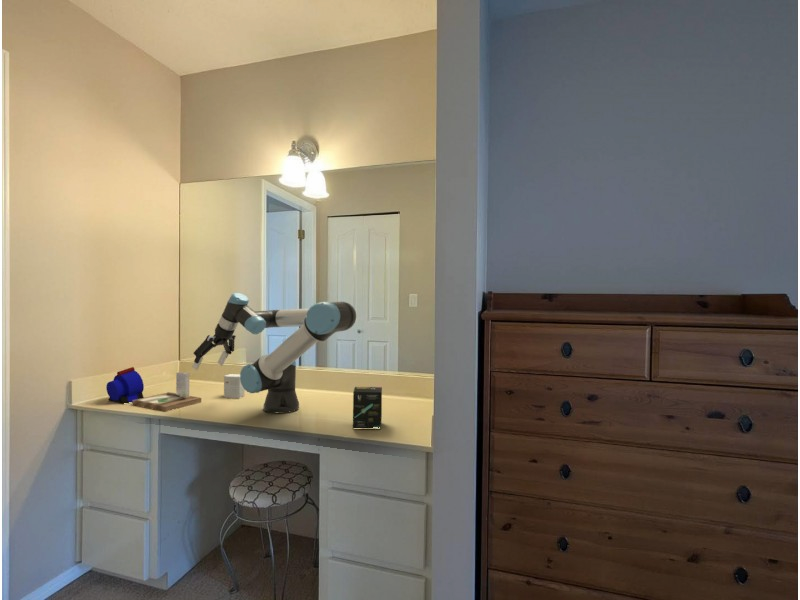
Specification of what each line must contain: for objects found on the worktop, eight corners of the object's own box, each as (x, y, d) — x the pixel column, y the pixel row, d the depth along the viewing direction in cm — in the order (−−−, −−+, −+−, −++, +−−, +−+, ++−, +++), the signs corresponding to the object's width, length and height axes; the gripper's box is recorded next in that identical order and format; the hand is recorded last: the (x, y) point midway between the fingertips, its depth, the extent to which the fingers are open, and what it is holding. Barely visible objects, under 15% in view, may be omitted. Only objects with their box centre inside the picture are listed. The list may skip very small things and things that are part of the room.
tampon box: (381, 422, 181) (382, 386, 181) (381, 430, 172) (382, 391, 172) (354, 422, 181) (354, 386, 181) (352, 429, 172) (353, 391, 171)
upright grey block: (189, 397, 205) (189, 373, 205) (185, 398, 203) (185, 374, 203) (170, 393, 211) (170, 370, 210) (165, 395, 209) (165, 371, 208)
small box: (244, 395, 221) (245, 374, 221) (239, 398, 216) (239, 376, 215) (229, 395, 222) (229, 373, 222) (223, 397, 216) (223, 375, 216)
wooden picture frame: (201, 402, 207) (201, 397, 207) (165, 411, 191) (166, 405, 191) (168, 396, 217) (168, 391, 217) (132, 404, 201) (132, 399, 201)
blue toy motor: (145, 399, 210) (145, 367, 210) (118, 405, 199) (119, 371, 199) (129, 396, 216) (129, 365, 216) (102, 401, 205) (102, 368, 205)
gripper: (242, 319, 206) (224, 357, 212) (197, 323, 184) (178, 365, 189) (253, 329, 204) (234, 367, 209) (208, 333, 181) (188, 375, 186)
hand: (207, 366), depth 199 cm, fingers open, 13 cm apart
